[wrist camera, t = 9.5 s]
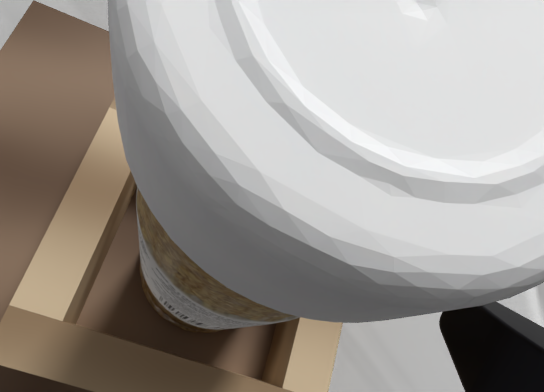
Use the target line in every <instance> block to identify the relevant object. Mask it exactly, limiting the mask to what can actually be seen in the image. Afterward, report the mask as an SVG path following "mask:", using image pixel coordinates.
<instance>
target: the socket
mask: <svg viewBox="0 0 544 392" xmlns="http://www.w3.org/2000/svg"><path fill="white" fill-rule="evenodd" d="M136 195H137V185H136V182H135V180H134V177H133V175H132V173H131V170H130V168H129V165H128V163H127V161H126V157H125V152H124V148H123V143H122V139H121V134H120V129H119V125H118V118H117V110H116V102H115V94H114V86H113V77H112V64H111V51H110V38H109V31H106V30H104V29H101V28H99V27H97V26H94V25H92V24H89V23H87V22H85V21H82V20H80V19H77V18H75V17H72V16H70V15H68V14H65V13H63V12H60V11H58V10H56V9H53V8H51V7H48V6H46V5H44V4H41V3H39V2H36V1H33V2H32V4H31V5H30V7H29V8H28V10H27V11H26V13H25V14H24V16H23V17H22V19H21V20H20V22H19V23H18V25H17V26H16V28H15V29H14V31H13V32H12V34H11V35H10V37H9V38H8V40H7V41H6V43H5V44H4V46H3V47H2V49H1V50H0V392H328V390H329V385H330V380H331V376H332V371H333V366H334V361H335V357H336V352H337V347H338V343H339V338H340V333H341V328H342V324H343V322H328V321H320V320H312V319H306V318H302V317H300V318H296V319H293V320H289V321H285V322H279V323H273V324H267V325H259V326H250V327H241V328H233V329H223V330H220V331H217V332H210V333H204V332H191V331H186V330H184V329H182V328H180V327H177V326H175V325H173V324H171V323H170V322H169V321H167V320H165V319H164V318H162V317H161V316H160V315H159V314H158V313H157V312H156V311H155V310H154V308H153V307H152V306H151V304H150V303H149V301H148V299H147V297H146V295H145V293H144V290H143V288H142V281H141V276H140V248H139V234H138V224H137V210H136Z"/></svg>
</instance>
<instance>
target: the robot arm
mask: <svg viewBox="0 0 544 392" xmlns="http://www.w3.org/2000/svg"><path fill="white" fill-rule="evenodd" d="M439 325H440V330H441V333H442V335H443V338H444V340H445V343H446V345H447V348H448V350H449V353H450V355H451V358H452V360H453V363H454V365H455V368H456V370H457V372H458V375H459V377H460V380H461V382H462V385H463V387H464V390H465V392H544V328H543V327H542V326H540V325H538V324H536V323H534V322H532V321H531V320H529V319H527V318H525V317H523V316H521V315H520V314H518V313H516V312H514V311H512V310H510V309H509V308H507V307H505V306H503V305H501V304H499V303H498V302H492V303H488V304H485V305H481V306H475V307H469V308H462V309H456V310H449V311H443V312H442V315H441V317H440V321H439Z"/></svg>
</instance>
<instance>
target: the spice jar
mask: <svg viewBox="0 0 544 392" xmlns="http://www.w3.org/2000/svg"><path fill="white" fill-rule="evenodd" d="M108 25H109V38H110V51H111V64H112V77H113V86H114V94H115V102H116V110H117V118H118V125H119V129H120V134H121V139H122V143H123V148H124V152H125V157H126V161H127V163H128V165H129V168H130V170H131V173H132V175H133V177H134V180H135V182H136V185H137V195H136V210H137V224H138V234H139V248H140V276H141V281H142V288H143V290H144V293H145V295H146V297H147V299H148V301H149V303H150V304H151V306H152V307H153V308H154V310H155V311H156V312H157V313H158V314H159V315H160V316H161V317H162V318H164V319H165V320H167V321H169V322H170V323H171V324H173V325H175V326H177V327H180V328H182V329H184V330H186V331H191V332H204V333H210V332H217V331H220V330H223V329H233V328H241V327H250V326H259V325H267V324H273V323H279V322H285V321H289V320H293V319H296V318H300V317H302V318H306V319H312V320H320V321H328V322H343V323H359V322H371V321H382V320H389V319H396V318H403V317H410V316H417V315H423V314H430V313H436V312H443V311H449V310H456V309H462V308H469V307H475V306H481V305H485V304H488V303H492V302H496V301H499V300H503V299H507V298H510V297H512V296H515V295H517V294H519V293H522V292H524V291H526V290H528V289H531V288H533V287H535V286H537V285H539V284H541V283H543V282H544V0H108Z"/></svg>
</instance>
